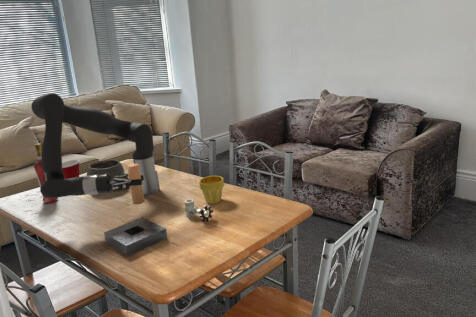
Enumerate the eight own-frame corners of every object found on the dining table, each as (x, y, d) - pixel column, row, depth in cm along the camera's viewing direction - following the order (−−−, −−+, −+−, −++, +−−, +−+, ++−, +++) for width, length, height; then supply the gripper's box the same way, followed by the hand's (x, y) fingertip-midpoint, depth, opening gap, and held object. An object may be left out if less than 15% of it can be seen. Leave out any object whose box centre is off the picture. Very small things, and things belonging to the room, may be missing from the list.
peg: (140, 199, 166) (135, 163, 161) (146, 201, 163) (141, 165, 158) (130, 202, 163) (124, 166, 159) (136, 205, 160) (130, 168, 155)
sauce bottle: (47, 198, 201) (33, 142, 193) (61, 197, 201) (49, 141, 193) (39, 204, 194) (25, 146, 186) (55, 203, 194) (41, 145, 186)
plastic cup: (61, 183, 222) (57, 162, 219) (83, 179, 226) (78, 158, 222) (62, 189, 212) (57, 167, 209) (84, 185, 216) (80, 163, 213)
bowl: (111, 179, 221) (107, 156, 218) (134, 184, 211) (130, 160, 207) (82, 191, 208) (77, 166, 204) (105, 196, 197) (100, 171, 194)
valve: (181, 217, 167) (201, 225, 159) (179, 202, 165) (199, 209, 157) (193, 212, 172) (214, 218, 164) (191, 197, 170) (212, 203, 162)
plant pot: (211, 207, 174) (209, 185, 171) (196, 201, 182) (194, 180, 179) (230, 199, 180) (228, 178, 178) (215, 194, 188) (213, 173, 185)
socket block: (143, 226, 162) (142, 217, 161) (167, 238, 151) (165, 228, 149) (105, 242, 152) (103, 232, 151) (127, 256, 140) (125, 245, 139)
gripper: (91, 181, 151) (138, 176, 152) (99, 169, 165) (143, 164, 166) (94, 200, 154) (141, 195, 155) (103, 187, 167) (146, 182, 168)
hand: (142, 179), depth 160 cm, fingers closed on peg, 4 cm apart
